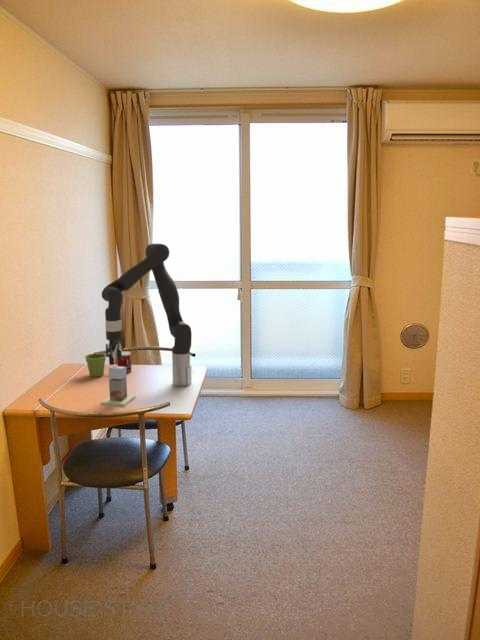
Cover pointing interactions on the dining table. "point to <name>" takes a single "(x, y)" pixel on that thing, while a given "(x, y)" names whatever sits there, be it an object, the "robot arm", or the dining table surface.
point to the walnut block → (118, 395)
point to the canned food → (125, 361)
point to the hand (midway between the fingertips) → (115, 362)
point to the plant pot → (96, 364)
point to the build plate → (121, 403)
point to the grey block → (117, 384)
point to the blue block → (117, 372)
